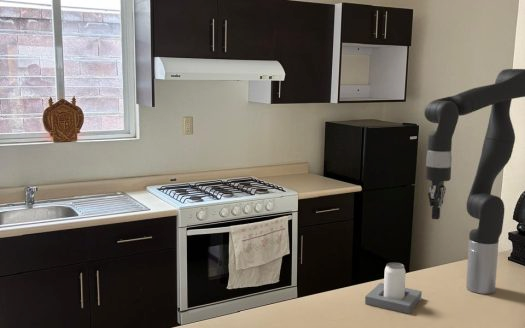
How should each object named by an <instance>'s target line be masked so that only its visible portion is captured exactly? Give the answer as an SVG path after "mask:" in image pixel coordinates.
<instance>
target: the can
mask: <svg viewBox="0 0 525 328" xmlns="http://www.w3.org/2000/svg"><path fill="white" fill-rule="evenodd" d="M383 279H384V280H383V283H384V297H388V298H393V299H398V300H403V299H404V294H405V288H406V269H405V265H404V264H403V263H400V262H388V263H386V266H385V268H384V277H383Z"/></svg>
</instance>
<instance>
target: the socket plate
mask: <svg viewBox="0 0 525 328" xmlns="http://www.w3.org/2000/svg"><path fill="white" fill-rule="evenodd" d="M422 293H423V291H422V290H417V289H414V288H408V287H405V294H404V299H403V300H398V299H393V298H388V297H384V282H379V283H378V284H377V285H376V286H375V287H374V288H373V289H371V291H370V292H368V293H367V294H366V295H365V297H364V298H365V299H364V300H365V301H364V303H365V305H369V306H373V307H378V308H382V309H386V310H392V311H396V312H400V313H404V314H408V315H409V314H410V313H411V312H412V311H413V309H414V308H415V307H416V306H417V304H418V303H419V302H420V301H421V300H422Z"/></svg>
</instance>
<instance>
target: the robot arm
mask: <svg viewBox="0 0 525 328" xmlns="http://www.w3.org/2000/svg"><path fill="white" fill-rule="evenodd" d="M519 98H525V68H505V69H503V70H501V71H500V72H499V73H498V75H497V76H496V78H495V83H493V84H488V85H482V86H477V87H473V88H469V89H468V90H465V91H463V92H459V93H458V94H455V95H451V96H445V97H442V98H438V99H435V100H432V101H430V102H429V103H428V104H427V105H426V106H425V109H424V117H425V119H426V120H427V121H428V122H430V123H433V124H437V127H436V130H434V131H432V132H430V133H429V134H428V138H427V139H428V140H427V151H426V152H427V153H426V159H425V160H426V161H425V162H426V164H425V179H426V180H427V181H431V184H430V185H429V192H428V194H427V196H428V201H429V205H430V206H429V207H431V219H432V220H439V219H440V218H441V207H442V205H443V203H444V198H445V194H446V190H447V188H446V185H445V184H444V183H445V182H448V181H451V178H452V177H451V176H452V145H453V144H452V142H453V141H452V140H453V137H454V133H455V130H456V127H457V124H458V121H459V116H465V115H469V114H472V113H474V112H477V111H479V110H482V109H484V108H486V107H489V106H491V108H490V114H489V119H488V123H487V128H486V132H485V136H484V140H483V144H482V149H481V153H480V158H479V162H478V165H477V170H476V174H475V177H474V179H473V183H472V185H471V188H470V191H469V192H468V193H469V194H468V196H467V200H466V212H467V213H468V215H469V216H470V217H472V218H473V219H476V220H478V225H477V226H478V227H477V228H474V229H471V230H470V232H469V235H468V236H469V238H468V251H467V253H468V255H467V267H466V268H467V269H466V284H465V287H466V289H467V290H468V291H471V292H472V293H477V294H484V295H485V294H486V295H487V294H488V295H489V294H493V293H495V292H496V283H497V282H496V281H497V272H498V271H497V270H498V256H499V241H500V236H501V235H502V233H503V226H504V220H505V204H504V201H503V200H502V198H500V197H499V196H497V195H494V194H492V189H493V185H494V183H495V180H496V178H497V176H498V175H499V174H500V173H501V172H502V171H503V169H504V168H505V167H506V165H507V164H508V163H509V162H510V160H511V157H512V154H513V152H514V151H513V150H514V145H515V141H516V136H515V134H516V133H515V128H514V125H513V123H512V119H511V113H510V112H511V110H510V109H511V106H512V100H514V99H519Z"/></svg>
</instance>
